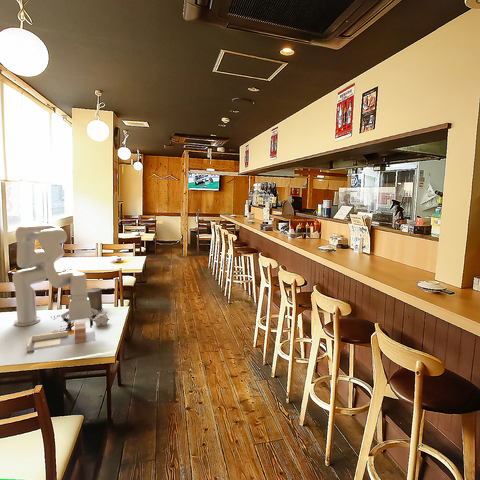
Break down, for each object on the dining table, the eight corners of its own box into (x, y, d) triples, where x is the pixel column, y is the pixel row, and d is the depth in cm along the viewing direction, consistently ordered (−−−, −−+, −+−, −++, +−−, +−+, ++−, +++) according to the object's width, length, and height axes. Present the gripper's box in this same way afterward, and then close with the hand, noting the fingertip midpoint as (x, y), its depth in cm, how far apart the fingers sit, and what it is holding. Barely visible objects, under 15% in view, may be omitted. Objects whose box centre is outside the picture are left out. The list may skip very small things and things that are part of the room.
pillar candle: (105, 308, 216) (104, 286, 214) (95, 313, 207) (94, 290, 205) (93, 306, 219) (92, 285, 217) (82, 311, 210) (81, 289, 208)
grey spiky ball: (103, 333, 187) (101, 324, 180) (90, 327, 188) (89, 318, 181) (113, 321, 193) (112, 312, 186) (101, 315, 194) (99, 306, 187)
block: (75, 334, 174) (74, 322, 173) (85, 333, 176) (85, 321, 175) (75, 342, 165) (74, 329, 164) (85, 341, 167) (85, 328, 166)
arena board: (30, 342, 166) (30, 335, 165) (94, 333, 179) (94, 327, 178) (27, 353, 155) (26, 346, 155) (95, 342, 168) (95, 336, 168)
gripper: (59, 301, 160) (61, 334, 162) (97, 296, 167) (99, 328, 170) (60, 296, 167) (62, 328, 169) (97, 292, 174) (98, 323, 176)
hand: (80, 328), depth 169 cm, fingers open, 9 cm apart
